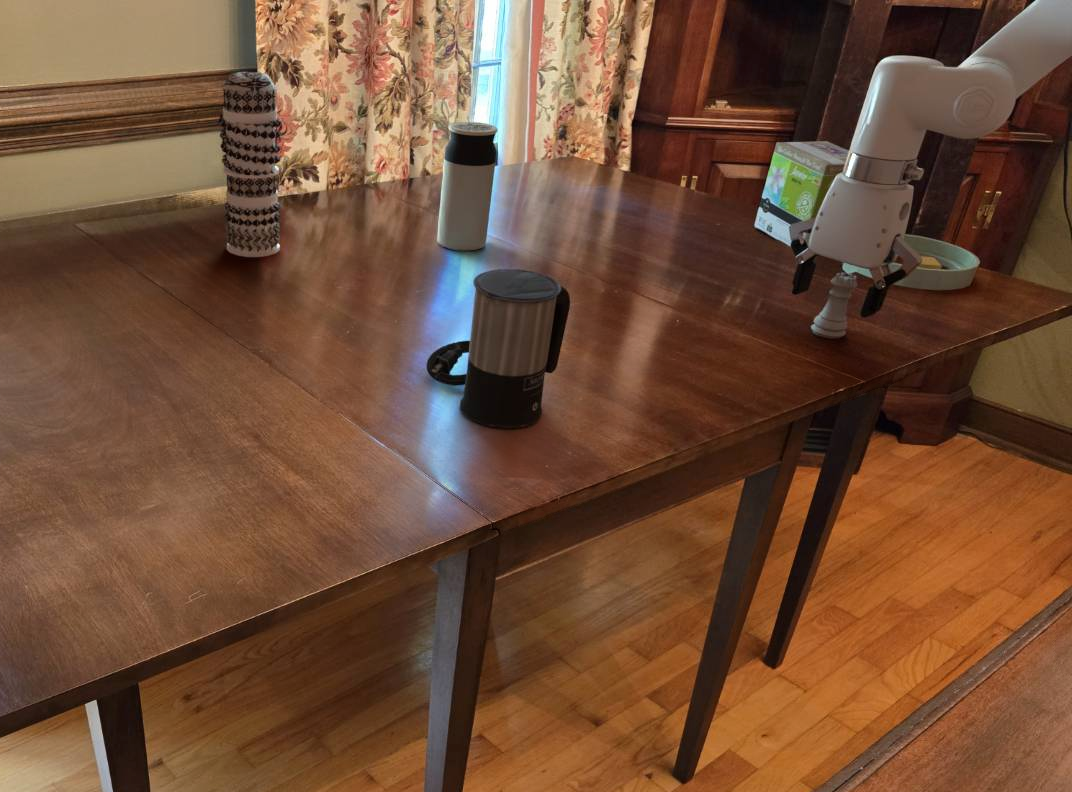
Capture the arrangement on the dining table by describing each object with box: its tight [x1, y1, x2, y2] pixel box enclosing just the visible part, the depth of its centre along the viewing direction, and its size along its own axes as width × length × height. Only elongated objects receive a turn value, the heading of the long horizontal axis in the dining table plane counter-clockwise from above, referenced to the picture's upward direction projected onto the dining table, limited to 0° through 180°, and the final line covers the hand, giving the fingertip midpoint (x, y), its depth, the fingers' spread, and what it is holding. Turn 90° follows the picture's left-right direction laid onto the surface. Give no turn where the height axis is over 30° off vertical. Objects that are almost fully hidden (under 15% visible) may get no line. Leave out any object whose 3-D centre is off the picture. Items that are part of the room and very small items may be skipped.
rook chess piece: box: [810, 272, 858, 340], centre depth 128 cm, size 4×4×8 cm
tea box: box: [754, 140, 850, 247], centre depth 161 cm, size 15×10×15 cm, turn 11°
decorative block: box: [918, 256, 943, 270], centre depth 145 cm, size 4×4×4 cm
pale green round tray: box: [841, 233, 981, 291], centre depth 149 cm, size 18×18×4 cm
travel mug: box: [436, 121, 498, 252], centre depth 152 cm, size 8×8×18 cm
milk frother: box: [426, 268, 571, 429], centre depth 107 cm, size 14×16×15 cm
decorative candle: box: [217, 71, 283, 258], centre depth 144 cm, size 9×9×25 cm
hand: (832, 303), depth 127 cm, fingers open, 9 cm apart
